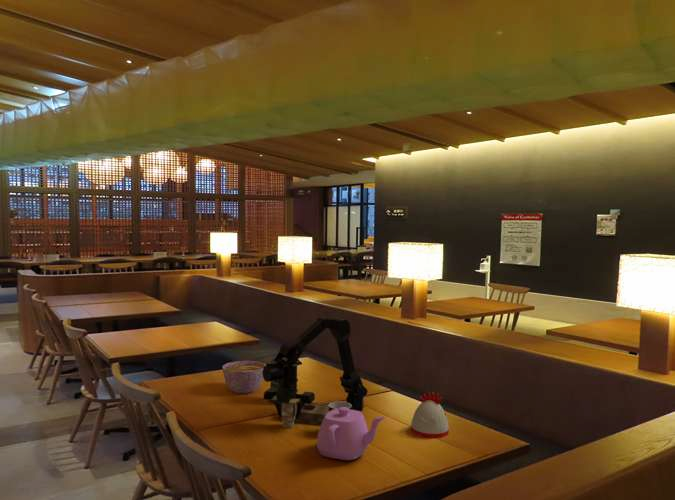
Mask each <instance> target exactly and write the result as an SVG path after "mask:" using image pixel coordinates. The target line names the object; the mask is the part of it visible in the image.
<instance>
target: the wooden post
mask: <svg viewBox="0 0 675 500" xmlns="http://www.w3.org/2000/svg"><path fill="white" fill-rule="evenodd" d="M296 401H297V400H291V401H289V402H288V403H284V402H283V403H282V417H283V420H281V422H282V424H283V428H287V429H292V428H293V427H294V426H295V422H294V420H295V415H296Z"/></svg>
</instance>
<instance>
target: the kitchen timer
mask: <svg viewBox="0 0 675 500" xmlns="http://www.w3.org/2000/svg"><path fill="white" fill-rule="evenodd" d="M430 393H431V392H430V391H428V392H427V395H426V393H423V397H424V399H423V397H422V396H421V395H420V396H419V398H420V401H421V403H420V404H419V405H418V406H417V408H416V409H415V411H414V414H413V417H412V419H411V424H410V427H411V428H410V431H411V433H413V434H414V435H415V436H419V437H421V438H427V439H440V438H441V439H442V438H444V437H447V436H448V435H449V431H450V427H449V421H448V417H447V413H446V412H445V411H444V409H443V407H442V406H441V404H440V402H441V401H442V398H443V396H440V398H439V392H437V393H436V396H435V393H434V391H432V393H431V394H430Z"/></svg>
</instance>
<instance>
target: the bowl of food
mask: <svg viewBox="0 0 675 500" xmlns="http://www.w3.org/2000/svg"><path fill="white" fill-rule="evenodd" d="M265 366H266V363H264V362H260V361H257V360H256V361H254V360H237V361H236V360H235V361H231V362H227V363H225V364H223V365H222V366H221V368H222V373H223V376H224V377H223V378H224V381H225V385H226V386H227V388H228V389H229V390H231V391H233V392H235V393H236V394H239V393H241V394H242V395H244V394H247V395H248V394H250V393H253V392H254V391H256V390H257V389H259V388H260V387H261V385H262V384H263V382H264V378H263V374H262V371H263V369H264V367H265ZM241 394H240V395H241Z"/></svg>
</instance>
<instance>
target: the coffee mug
mask: <svg viewBox="0 0 675 500" xmlns="http://www.w3.org/2000/svg"><path fill="white" fill-rule="evenodd" d="M328 404H329V405H328V406H329V412H330V411H331V410H334V409H337V408H340V407H347V408H349V409H350V410H353V406H352V405H351V404H350V403H347V402H346V401H331V402H329V403H328Z"/></svg>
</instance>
